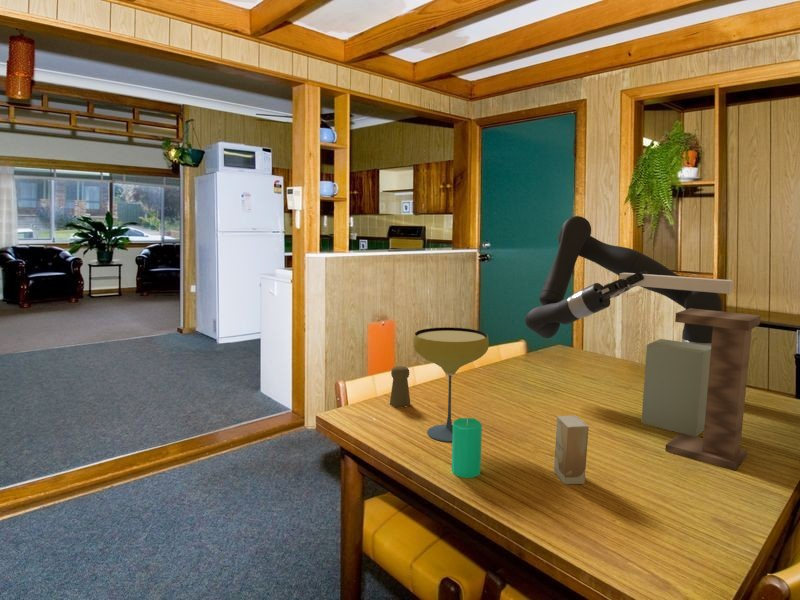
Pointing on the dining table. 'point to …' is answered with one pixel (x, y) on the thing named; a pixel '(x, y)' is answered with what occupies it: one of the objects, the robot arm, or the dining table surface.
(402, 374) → the pepper mill
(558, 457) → the skincare box
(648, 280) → the cream bar
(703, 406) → the pale grey-green block
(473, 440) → the candle
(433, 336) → the cocktail glass
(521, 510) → the dining table surface
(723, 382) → the walnut stand
